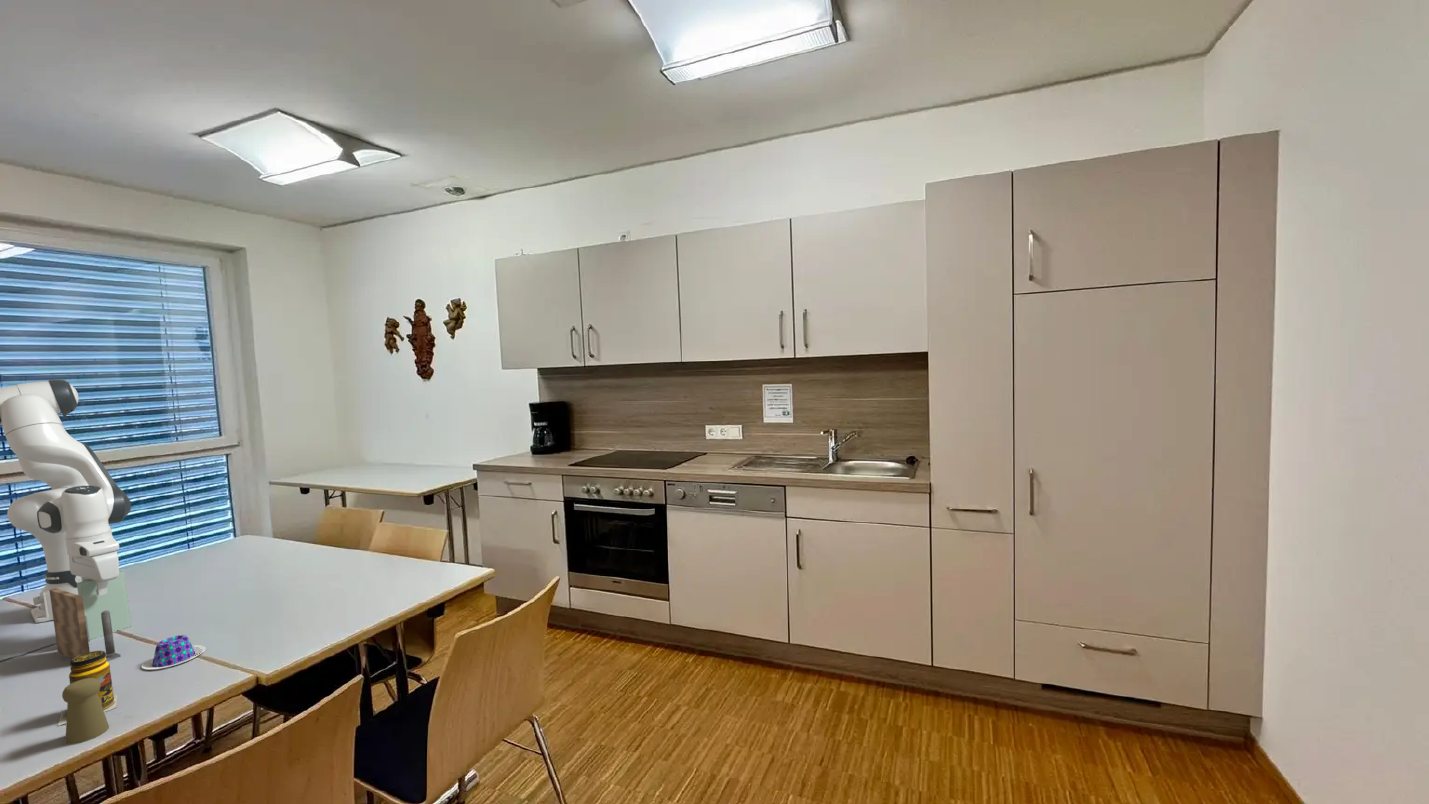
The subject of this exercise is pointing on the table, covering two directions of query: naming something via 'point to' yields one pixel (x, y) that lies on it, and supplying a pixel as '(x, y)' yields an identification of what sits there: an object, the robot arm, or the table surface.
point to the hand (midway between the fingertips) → (96, 592)
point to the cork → (84, 711)
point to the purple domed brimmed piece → (172, 652)
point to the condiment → (93, 668)
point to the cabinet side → (76, 625)
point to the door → (105, 605)
